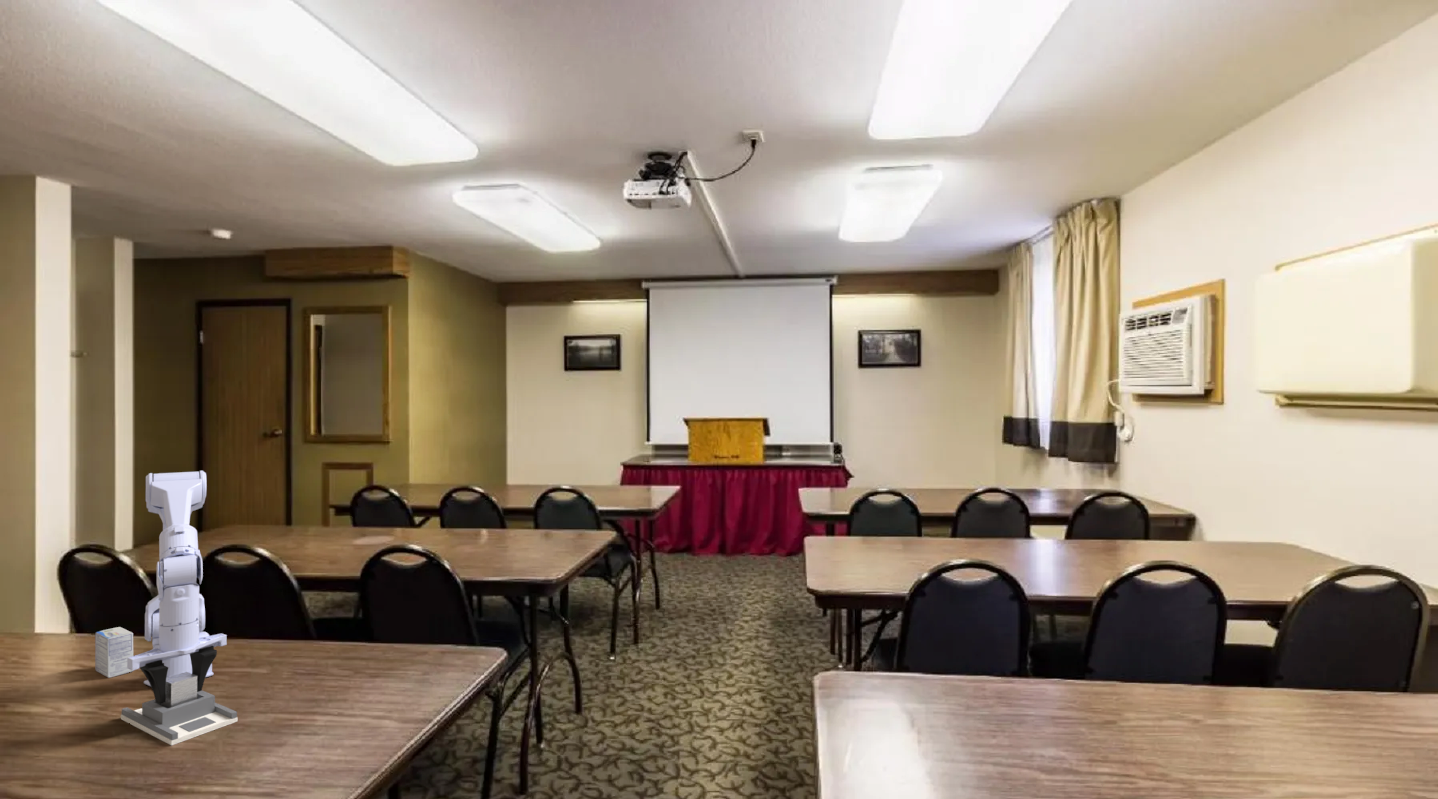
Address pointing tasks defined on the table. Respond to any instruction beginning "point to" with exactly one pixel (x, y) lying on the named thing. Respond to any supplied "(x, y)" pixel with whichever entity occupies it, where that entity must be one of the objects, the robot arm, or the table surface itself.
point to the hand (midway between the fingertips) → (179, 696)
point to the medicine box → (113, 651)
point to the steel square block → (180, 689)
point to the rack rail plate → (180, 718)
